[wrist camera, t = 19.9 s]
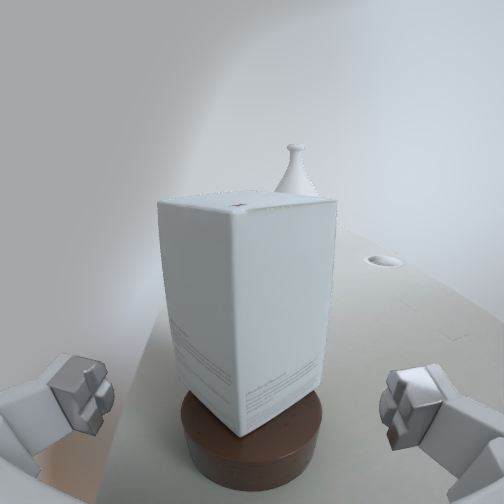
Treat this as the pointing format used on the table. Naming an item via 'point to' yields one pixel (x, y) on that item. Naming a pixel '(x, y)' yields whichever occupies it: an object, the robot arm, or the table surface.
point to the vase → (296, 175)
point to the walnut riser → (252, 445)
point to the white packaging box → (248, 298)
